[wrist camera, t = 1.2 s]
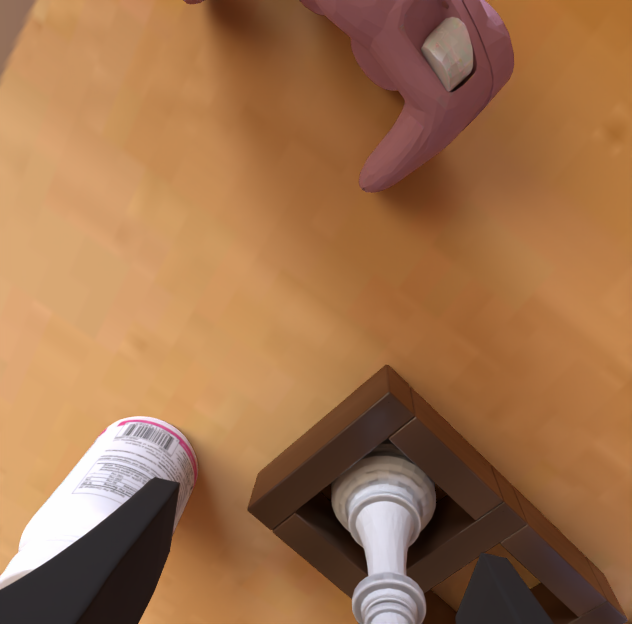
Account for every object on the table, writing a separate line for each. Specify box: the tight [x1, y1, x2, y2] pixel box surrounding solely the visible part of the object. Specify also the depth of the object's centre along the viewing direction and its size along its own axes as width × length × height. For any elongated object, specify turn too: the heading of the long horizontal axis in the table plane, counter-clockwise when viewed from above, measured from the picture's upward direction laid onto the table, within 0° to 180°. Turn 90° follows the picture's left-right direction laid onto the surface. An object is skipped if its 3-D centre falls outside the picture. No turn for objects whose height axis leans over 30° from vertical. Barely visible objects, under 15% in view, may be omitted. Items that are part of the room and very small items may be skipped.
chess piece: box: [331, 438, 436, 624], centre depth 19 cm, size 4×4×10 cm
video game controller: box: [184, 0, 514, 193], centre depth 16 cm, size 10×5×7 cm, turn 45°
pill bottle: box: [0, 416, 198, 590], centre depth 21 cm, size 5×5×8 cm
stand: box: [247, 365, 628, 624], centre depth 24 cm, size 14×8×2 cm, turn 45°
